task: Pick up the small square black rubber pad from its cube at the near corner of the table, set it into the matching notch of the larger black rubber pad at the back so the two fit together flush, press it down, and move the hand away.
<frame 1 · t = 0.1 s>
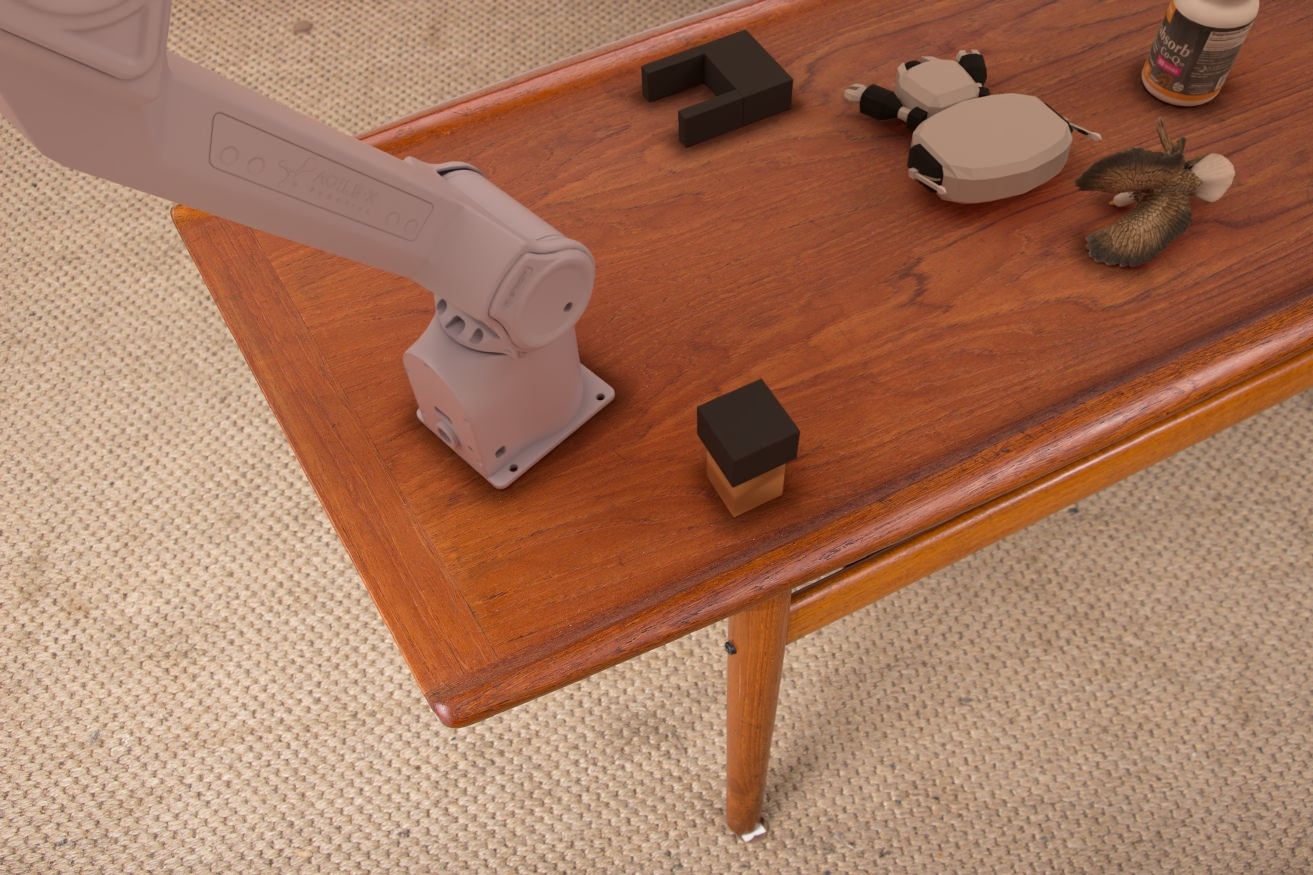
cube: (744, 485, 62), on the table
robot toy: (955, 153, 77), on the table
base pad: (716, 101, 81), on the table
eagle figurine: (1132, 224, 73), on the table
small pad: (746, 446, 58), point 4 cm above the table, touching cube
pill bottle: (1178, 87, 80), on the table
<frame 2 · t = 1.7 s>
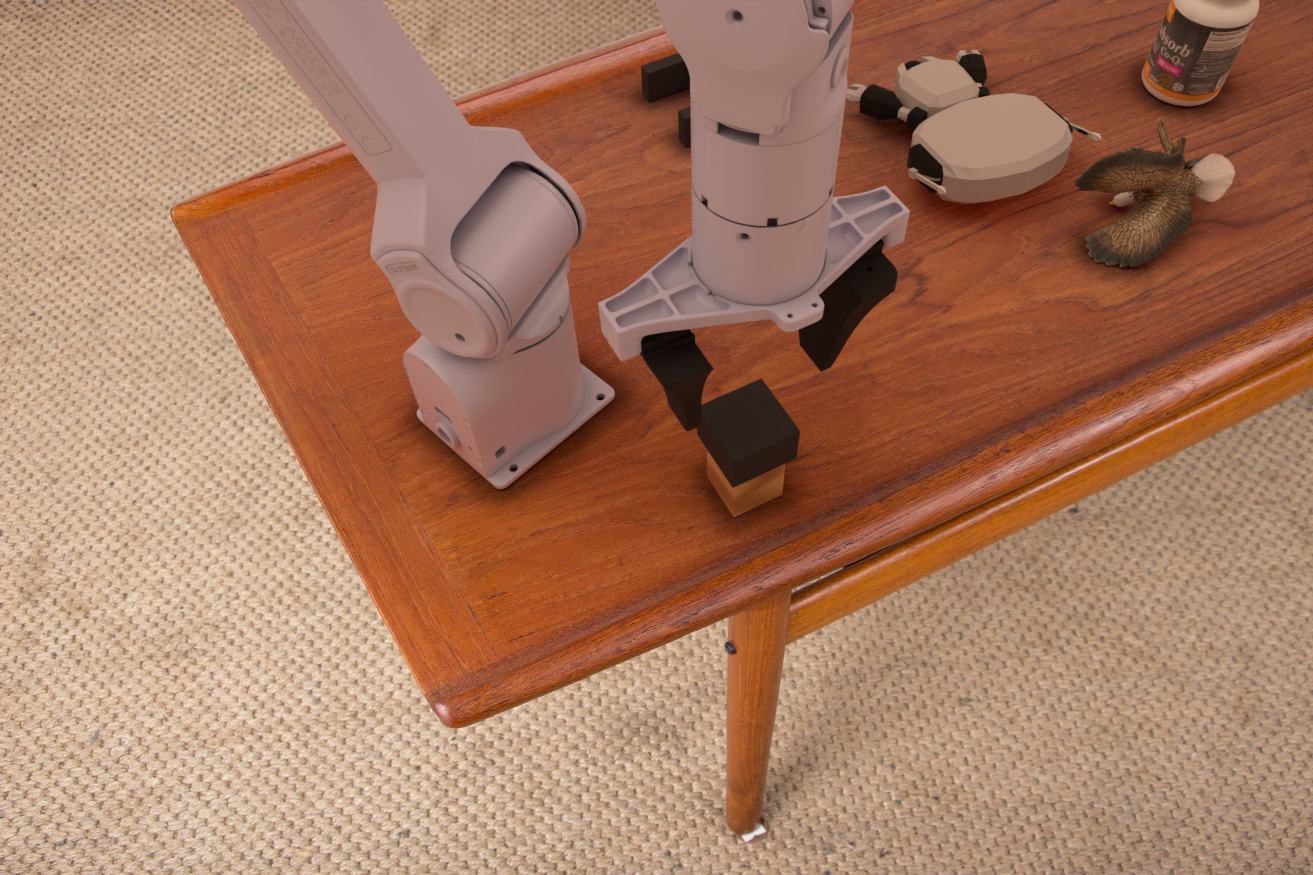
hand: (750, 385, 54), 9 cm above the table, tool pointing down, fingers open, 7 cm apart
nothing on the table moved.
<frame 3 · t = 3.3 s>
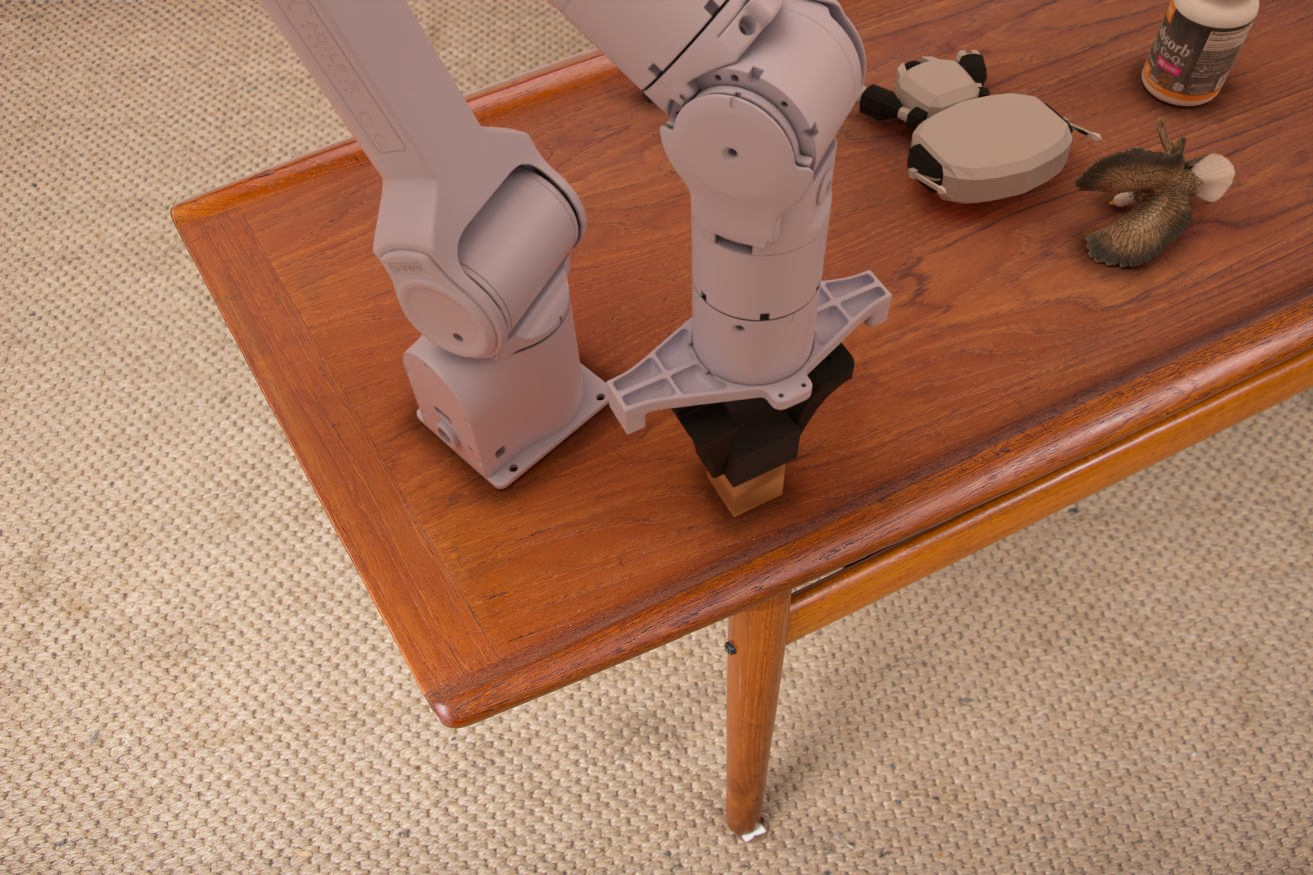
hand: (746, 446, 58), 4 cm above the table, tool pointing down, fingers closed on small pad, 4 cm apart
small pad: (746, 446, 58), point 4 cm above the table, touching gripper, cube
everything else where it was.
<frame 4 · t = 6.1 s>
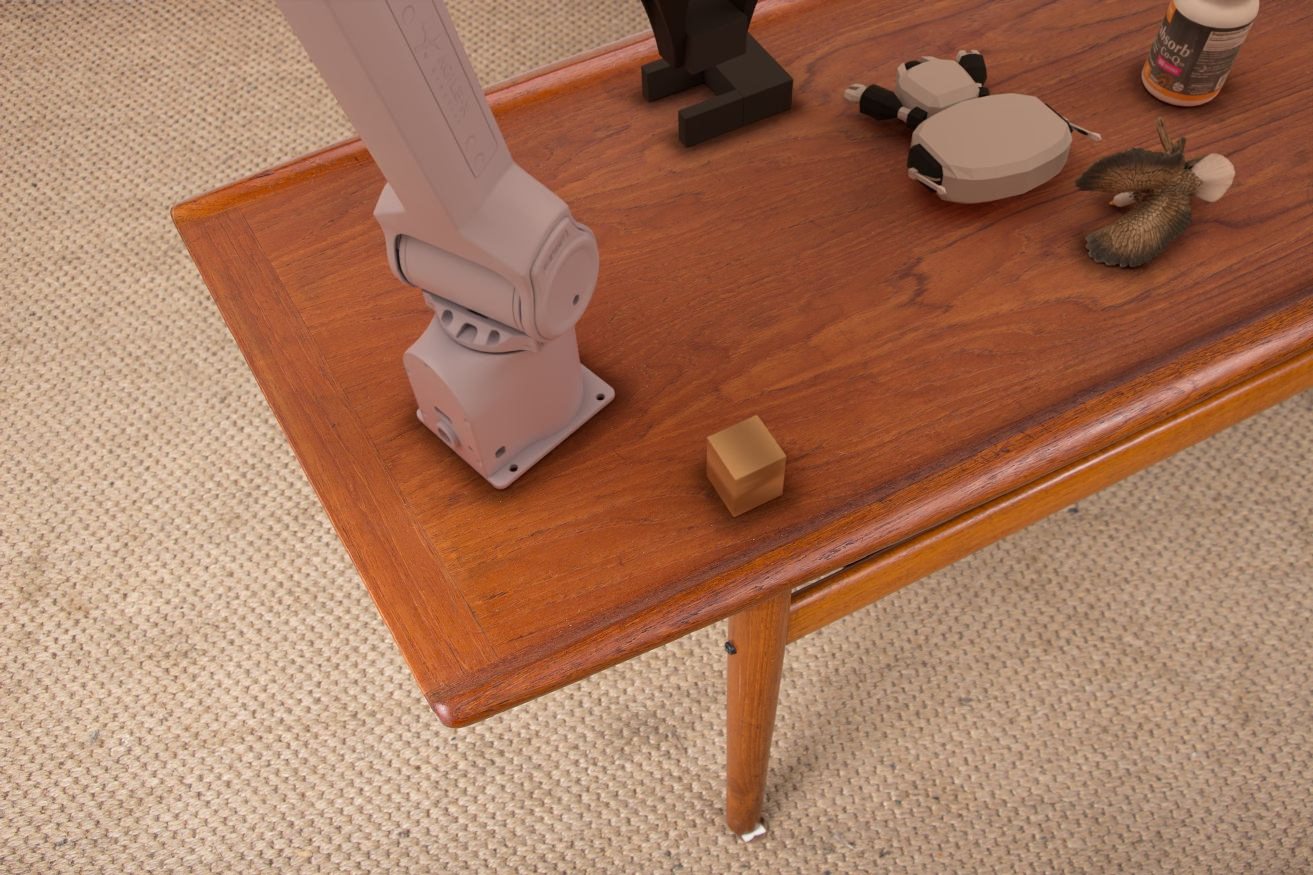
hand: (701, 47, 68), 10 cm above the table, tool pointing down, fingers closed on small pad, 4 cm apart
small pad: (702, 48, 68), point 10 cm above the table, touching gripper
everything else where it was.
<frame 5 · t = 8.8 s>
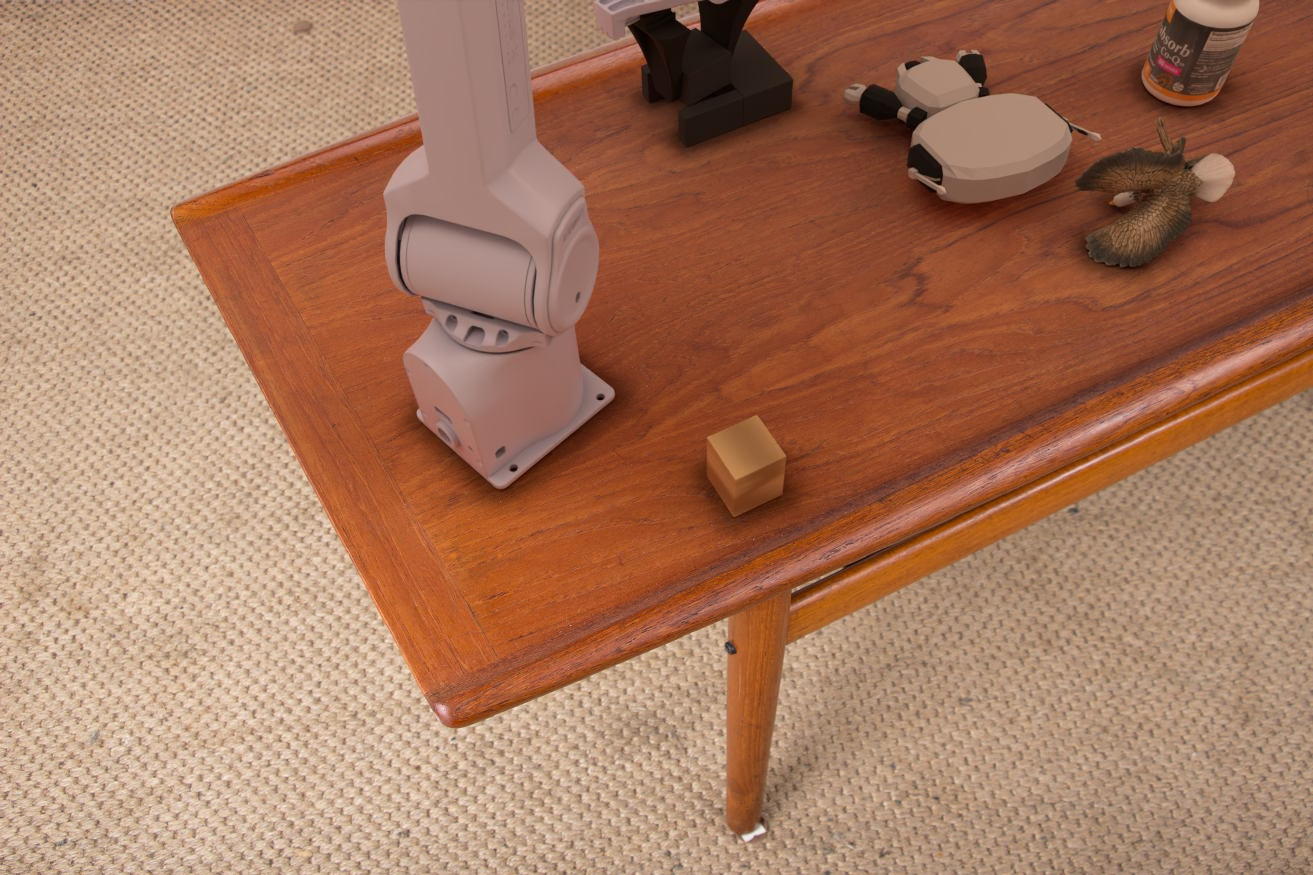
hand: (691, 81, 79), 3 cm above the table, tool pointing down, fingers closed on small pad, 4 cm apart
small pad: (692, 81, 79), point 3 cm above the table, touching base pad, gripper
everything else where it was.
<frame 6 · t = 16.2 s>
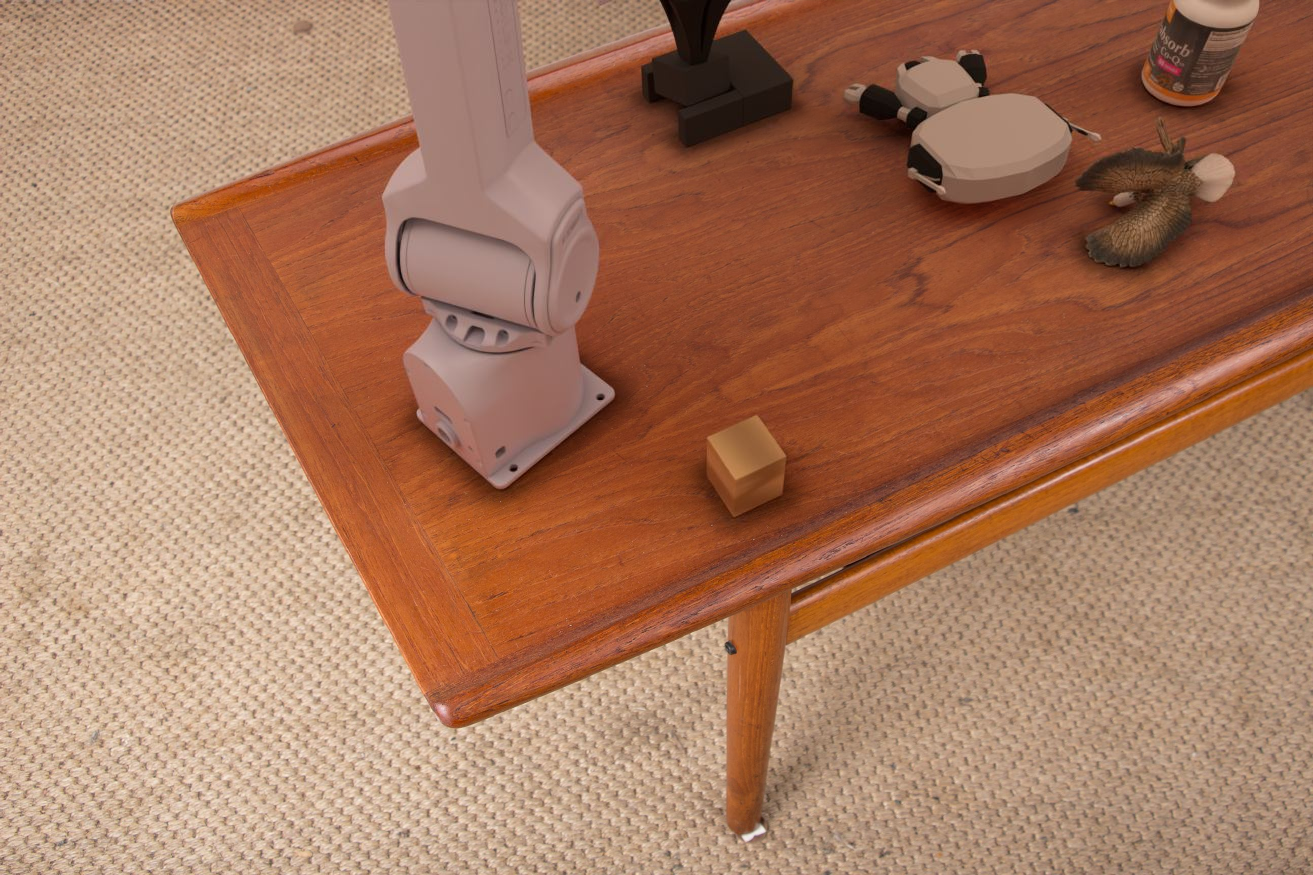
hand: (692, 58, 77), 4 cm above the table, tool pointing down, fingers closed, pressing on small pad
small pad: (692, 92, 79), point 2 cm above the table, tilted 17°, touching base pad, gripper
everything else where it was.
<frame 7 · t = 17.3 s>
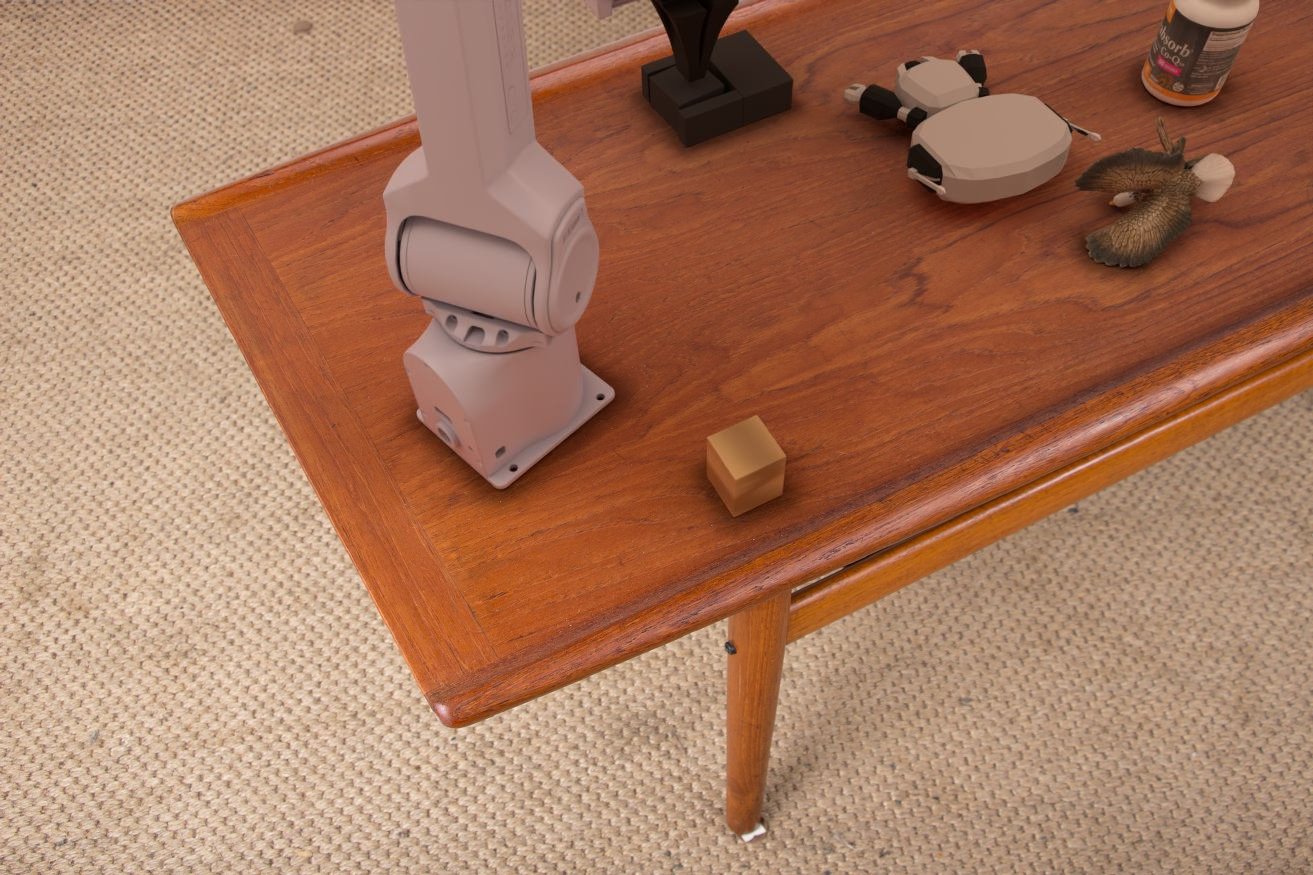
hand: (691, 72, 78), 3 cm above the table, tool pointing down, fingers closed
small pad: (687, 110, 81), on the table
everything else where it was.
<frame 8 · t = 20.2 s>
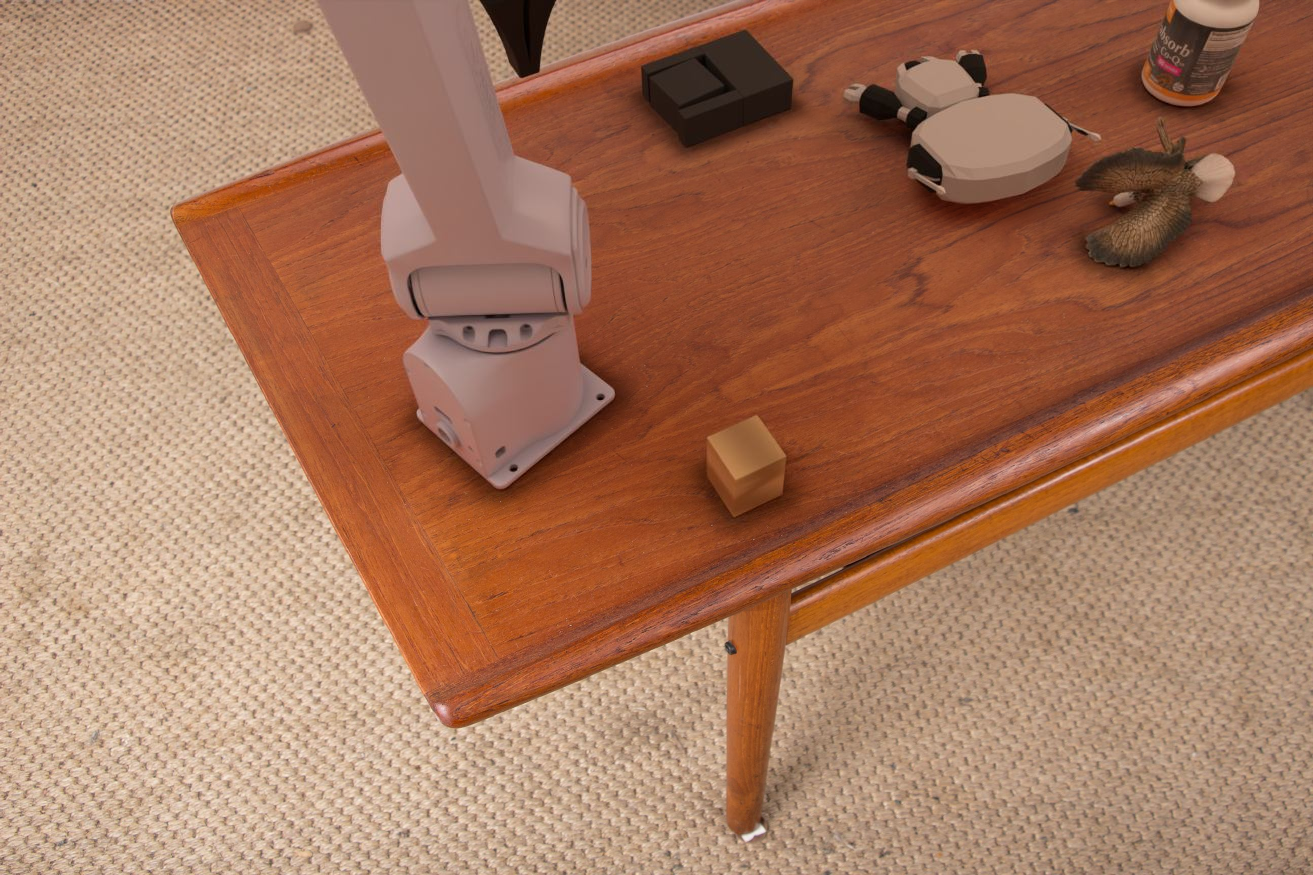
hand: (524, 67, 69), 9 cm above the table, tool pointing down, fingers closed
nothing on the table moved.
at the end: small pad 0.3 cm from the target spot on the base pad, point 0.0 cm above the base pad's base; small pad tilted 0°; the gripper is holding nothing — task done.
